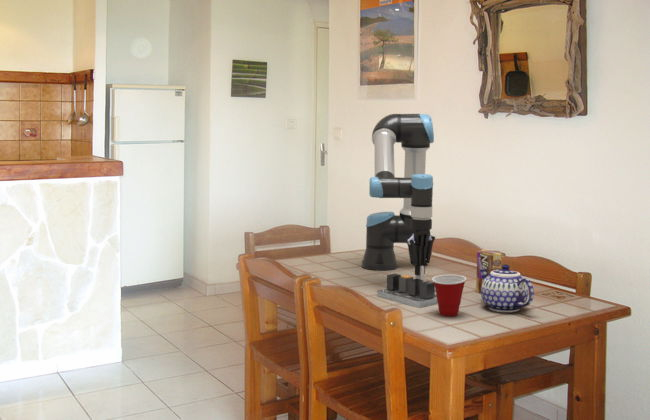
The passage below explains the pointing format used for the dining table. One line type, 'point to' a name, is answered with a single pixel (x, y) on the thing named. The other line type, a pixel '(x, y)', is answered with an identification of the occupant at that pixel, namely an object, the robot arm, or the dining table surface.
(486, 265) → the candy box
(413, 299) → the breaker panel
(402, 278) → the breaker
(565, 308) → the dining table surface
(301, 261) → the dining table surface
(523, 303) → the teapot
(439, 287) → the plastic cup
